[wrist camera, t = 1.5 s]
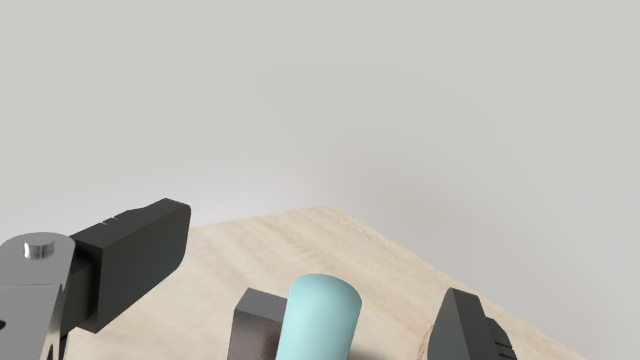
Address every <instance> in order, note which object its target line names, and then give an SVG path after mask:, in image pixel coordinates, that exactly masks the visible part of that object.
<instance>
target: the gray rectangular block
mask: <svg viewBox="0 0 640 360" xmlns="http://www.w3.org/2000/svg"><path fill="white" fill-rule="evenodd" d="M287 300H288V299H286V298H282V297H279V296H276V295H272V294H269V293H265V292H262V291H258V290H255V289H251V288H248V289H247V290H246V292H245V293H244V295H243V296H242V298H241V300H240V301H239V303H238V304H237V306H236V307H235V309H234V316H233V323H232V330H231V337H230V343H229V350H228V357H227V360H276V356H277V351H278V346H279V341H280V336H281V330H282V325H283V320H284V315H285V310H286V305H287Z"/></svg>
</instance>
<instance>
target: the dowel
mask: <svg viewBox="0 0 640 360" xmlns="http://www.w3.org/2000/svg"><path fill="white" fill-rule="evenodd" d="M361 306H362V301H361V298H360V295H359V294H358V292H357V291H356V290H355V289H354V288H353V287H352V286H351V285H349V284H348V283H346V282H345V281H343V280H341V279H338V278H336V277H333V276H329V275H323V274H309V275H304V276H301V277H299V278H297V279H296V280H295V281H294V282H293V283H292V284H291V286H290V290H289V295H288V300H287V305H286V310H285V315H284V320H283V325H282V330H281V336H280V341H279V346H278V351H277V356H276V360H347V357H348V354H349V350H350V346H351V343H352V339H353V335H354V332H355V328H356V325H357V321H358V317H359V314H360V310H361Z"/></svg>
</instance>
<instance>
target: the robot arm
mask: <svg viewBox="0 0 640 360" xmlns="http://www.w3.org/2000/svg"><path fill="white" fill-rule="evenodd" d="M190 217H191V208H190V206H189V205H187V204H184V203H180V202H177V201H174V200H171V199H168V198H164V199H162V200H160V201H158V202H155V203H153V204H151V205H149V206H147V207H144V208H139V209H133V210H128V211H125V212H123V213H121V214H118V215H116V216H114V218H109V219H107V220H105V221H103V222H102V223H98V224H96V225H94V226H91V227H89V228H87V229H85V230H82V231H80V232H78V233H75V234H73V235H71V236H69V237H68V236H65V235H62V234H57V233H47V232H39V233H29V234H24V235H19V236H16V237H13V238H11V239H9V240H7V241H6V242H4V243H3V244H2V245H1V247H0V360H66V355H67V350H68V344H69V332H70V331H71V330H72V329H74V328H75V327H79V328H82V329H84V330H87V331H89V332H92V333H95V334H96V333H97V332H99V331H100V330H101V329H102V328H104V327H105V326H106V325H107V324H109V323H110V322H111V321H112V320H114V319H115V318H116V317H117V316H119V315H120V314H121V313H122V312H124V311H125V310H126V309H127V308H129V307H130V306H131V305H132V304H134V303H135V302H136V301H137V300H139V299H140V298H141V297H142V296H144V295H145V294H146V293H147V292H149V291H150V290H151V289H152V288H154V287H155V286H156V285H157V284H159V283H160V282H161V281H163V280H164V279H165V278H166V277H168V276H169V275H170V274H171V273H173V272H174V271H175V270H176V269H177V268H178V267H179V265H180V263H181V262H182V260H183V257H184V254H185V250H186V243H187V237H188V230H189V222H190ZM427 360H517V357H516V355H515V352H514V350H512V345H511V343H510V341H509V338H508V336H507V334H506V332H505V331H504V330H503V329H502V328H501V327H500V326H499V325H498V324H497V322H496V321H495V320H494V319H491V318H488V317H485V314H484V311H483V308H482V306H481V303H480V300H479V298H478V296H477V295H473V294H470V293H467V292H464V291H461V290H457V289H454V288H451V287H450V288H449V289H448V290H447V292H446V294H445V297H444V299H443V302H442V305H441V308H440V310H439V313H438V316H437V318H436V321H435V324H434V326H433V329H432V332H431V335H430V338H429V343H428V349H427Z"/></svg>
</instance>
